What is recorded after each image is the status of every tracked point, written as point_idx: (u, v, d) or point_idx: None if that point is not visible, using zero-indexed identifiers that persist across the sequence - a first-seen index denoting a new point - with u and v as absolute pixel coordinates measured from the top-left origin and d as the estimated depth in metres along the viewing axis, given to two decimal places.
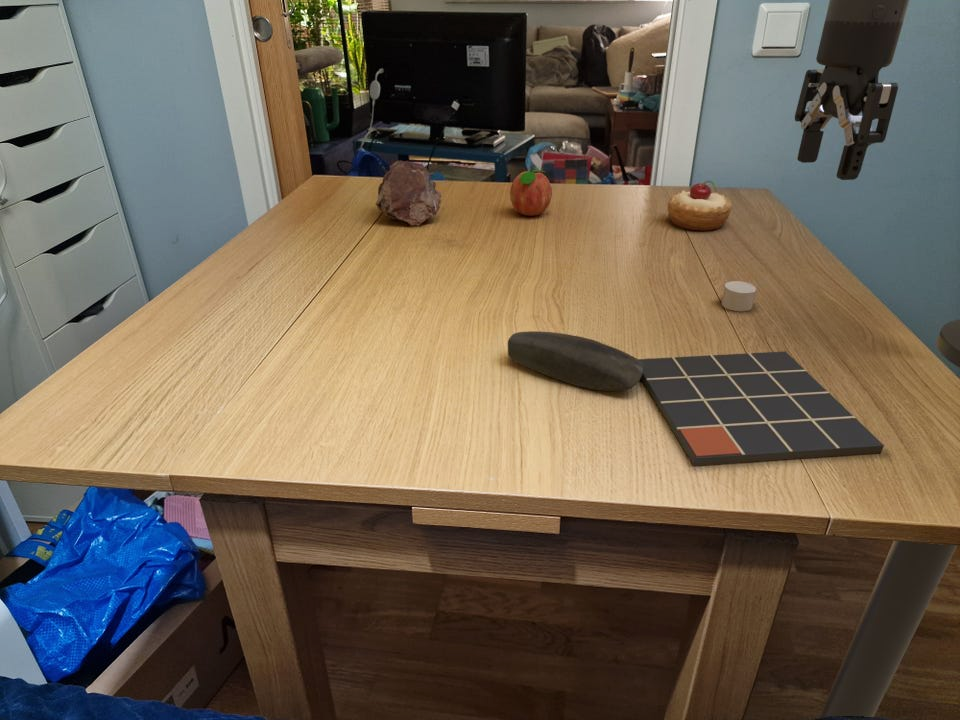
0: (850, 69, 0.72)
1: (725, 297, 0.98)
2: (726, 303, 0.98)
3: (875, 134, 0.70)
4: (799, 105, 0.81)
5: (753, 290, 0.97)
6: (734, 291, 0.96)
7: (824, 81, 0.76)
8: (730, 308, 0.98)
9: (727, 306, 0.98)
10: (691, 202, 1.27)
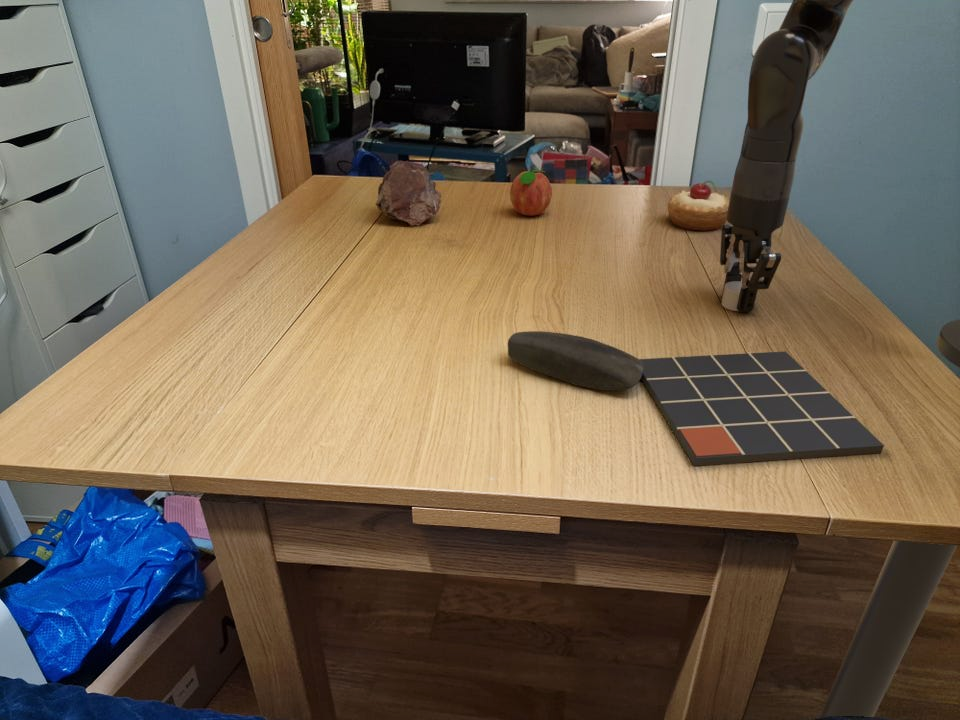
0: (750, 229, 0.91)
1: (725, 297, 0.98)
2: (726, 303, 0.98)
3: (761, 284, 0.92)
4: (721, 252, 1.00)
5: None
6: (734, 291, 0.96)
7: (735, 231, 0.96)
8: (730, 308, 0.98)
9: (727, 306, 0.98)
10: (691, 202, 1.27)
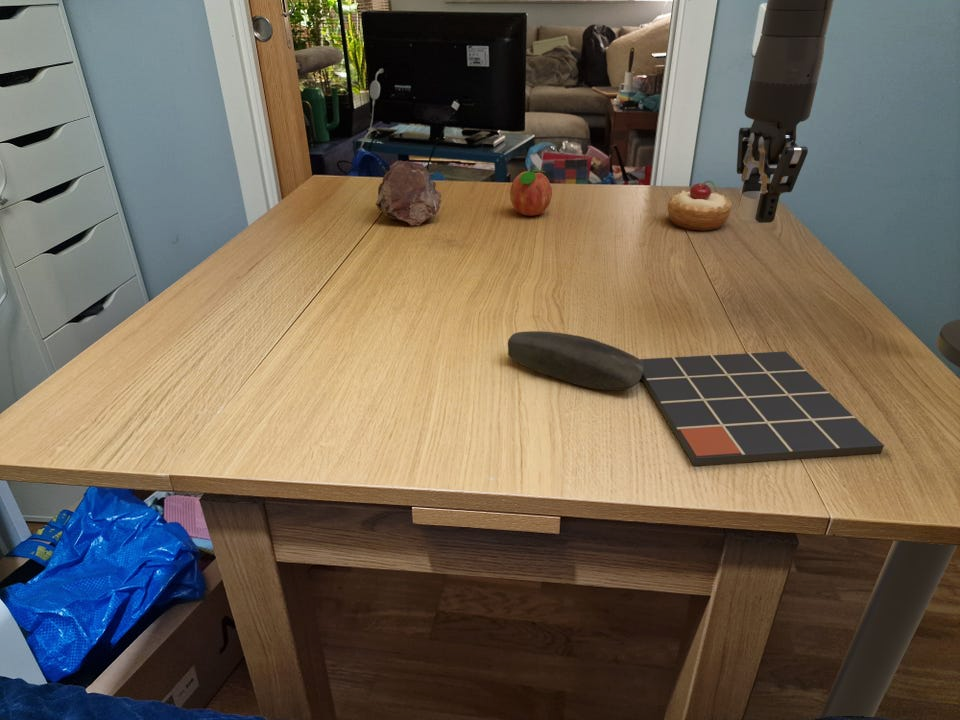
0: (772, 123, 0.80)
1: (742, 207, 0.87)
2: (743, 214, 0.87)
3: (783, 185, 0.81)
4: (738, 159, 0.89)
5: None
6: (752, 199, 0.85)
7: (754, 131, 0.85)
8: (748, 219, 0.87)
9: (744, 217, 0.87)
10: (691, 202, 1.27)
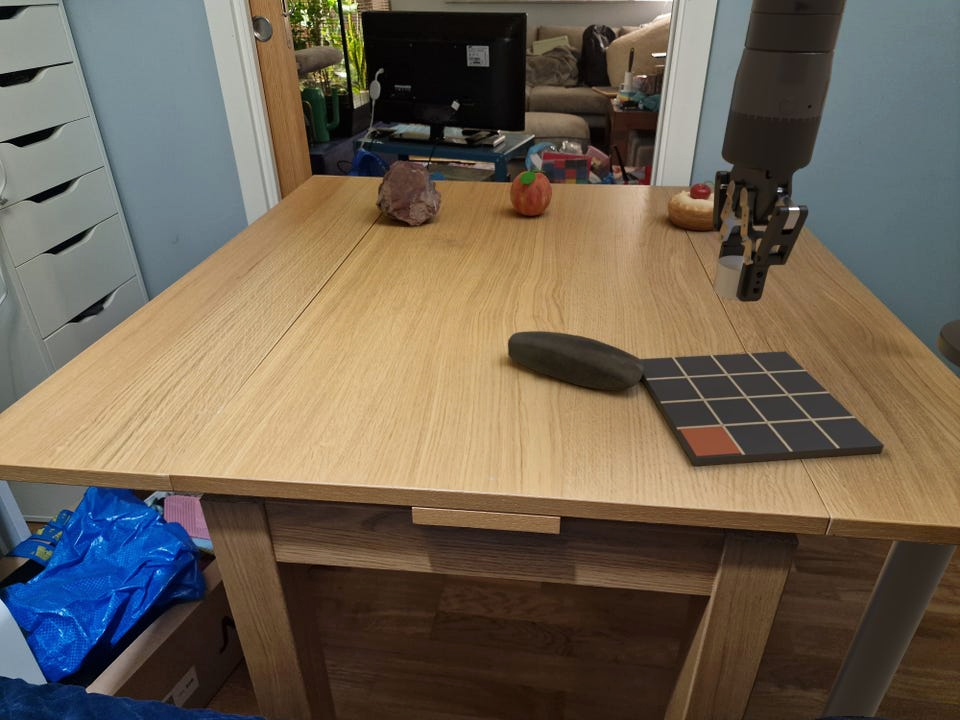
0: (759, 170, 0.58)
1: (719, 279, 0.64)
2: (720, 288, 0.64)
3: (774, 256, 0.58)
4: (714, 212, 0.67)
5: None
6: (732, 269, 0.63)
7: (735, 177, 0.63)
8: (726, 296, 0.64)
9: (721, 293, 0.64)
10: (691, 202, 1.27)
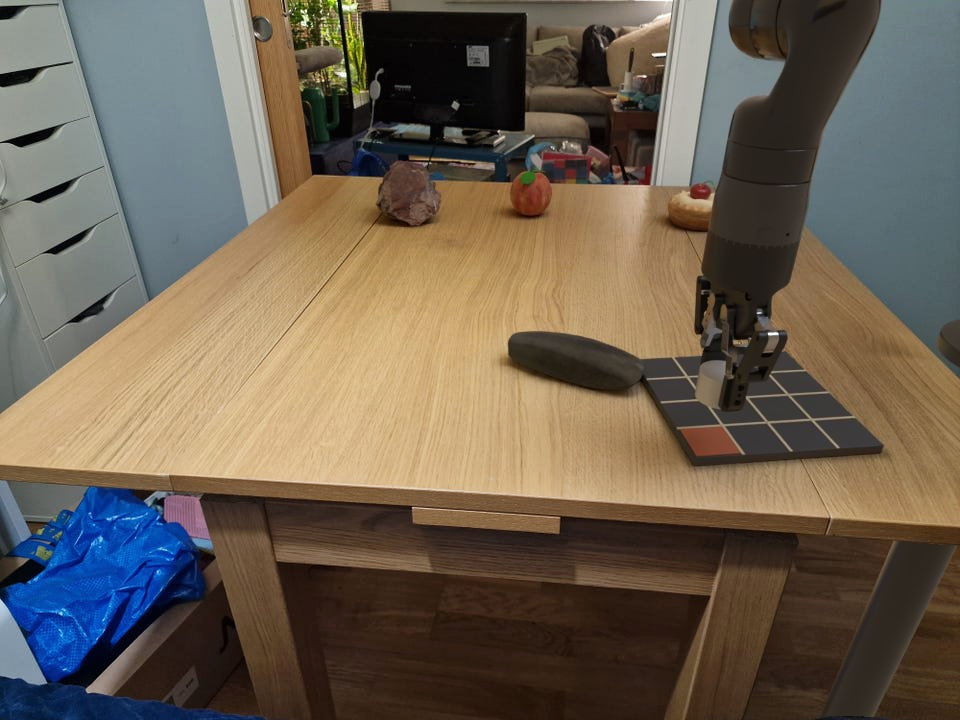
0: (738, 289, 0.57)
1: (700, 387, 0.64)
2: (702, 396, 0.64)
3: (755, 375, 0.58)
4: (696, 316, 0.67)
5: None
6: (713, 380, 0.62)
7: (715, 287, 0.62)
8: (708, 404, 0.64)
9: (703, 400, 0.64)
10: (691, 202, 1.27)
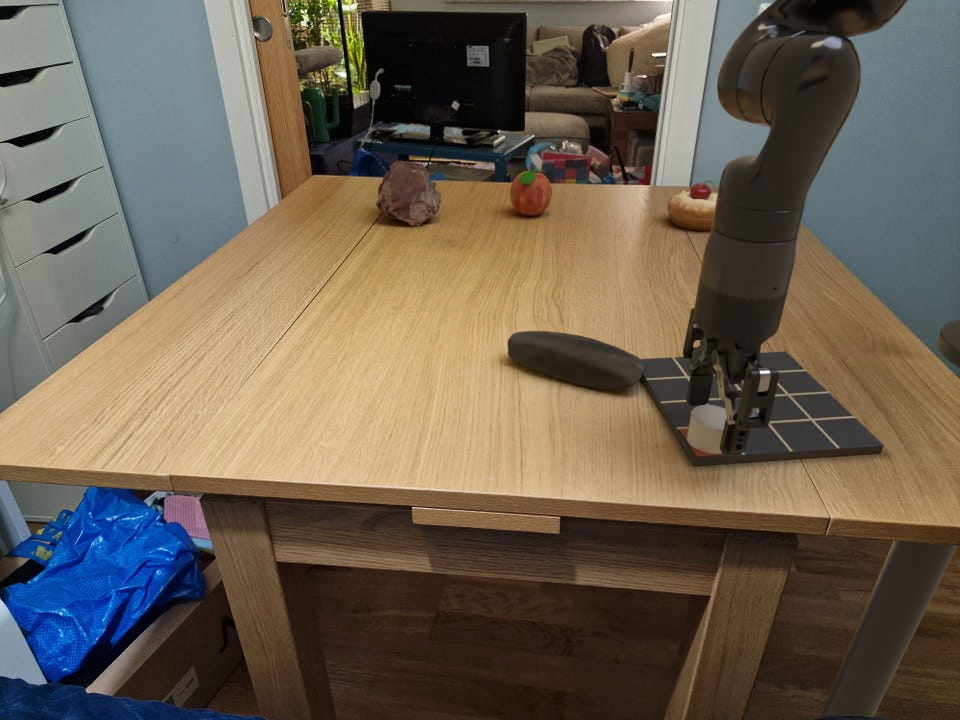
0: None
1: (692, 432, 0.67)
2: (693, 440, 0.67)
3: (756, 422, 0.58)
4: (686, 342, 0.70)
5: None
6: (704, 426, 0.65)
7: None
8: (699, 448, 0.66)
9: (694, 445, 0.67)
10: (691, 202, 1.27)
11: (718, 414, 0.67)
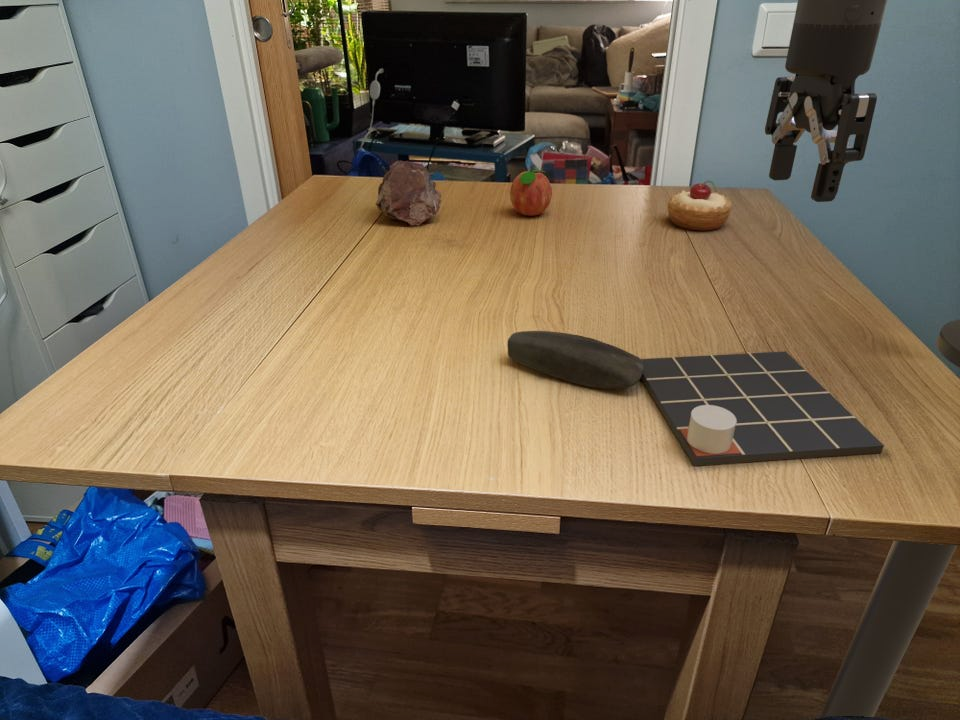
0: (823, 78, 0.63)
1: (692, 432, 0.67)
2: (693, 440, 0.67)
3: (852, 151, 0.62)
4: (769, 117, 0.73)
5: (732, 424, 0.65)
6: (704, 426, 0.65)
7: (795, 91, 0.68)
8: (699, 448, 0.66)
9: (694, 445, 0.67)
10: (691, 202, 1.27)
11: (718, 414, 0.67)
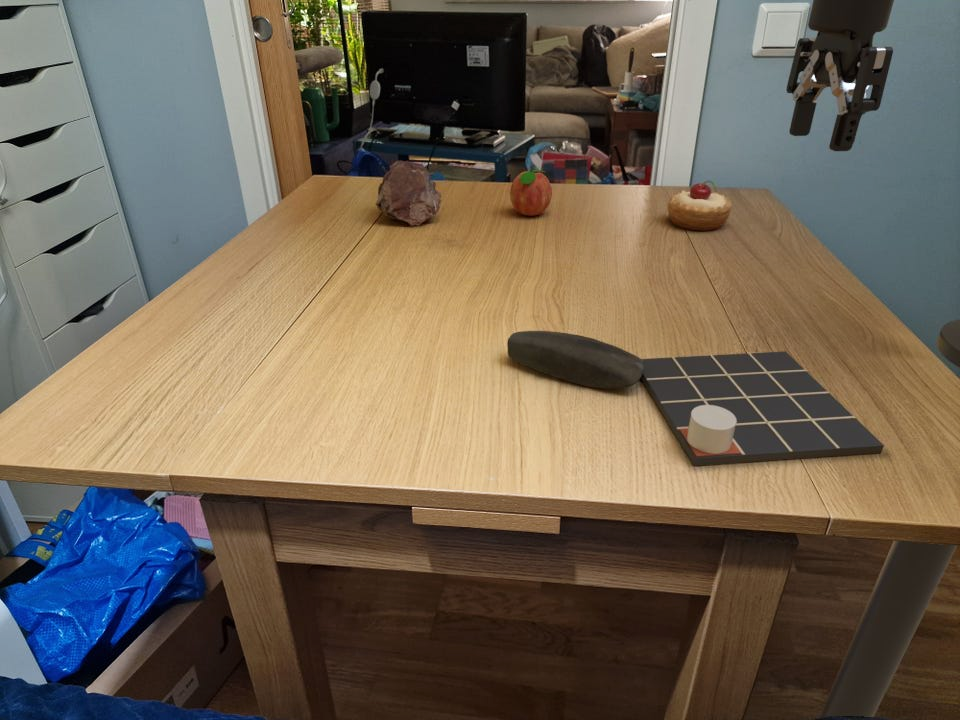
0: (843, 34, 0.68)
1: (692, 432, 0.67)
2: (693, 440, 0.67)
3: (869, 101, 0.67)
4: (791, 76, 0.78)
5: (732, 424, 0.65)
6: (704, 426, 0.65)
7: (817, 49, 0.73)
8: (699, 448, 0.66)
9: (694, 445, 0.67)
10: (691, 202, 1.27)
11: (718, 414, 0.67)
